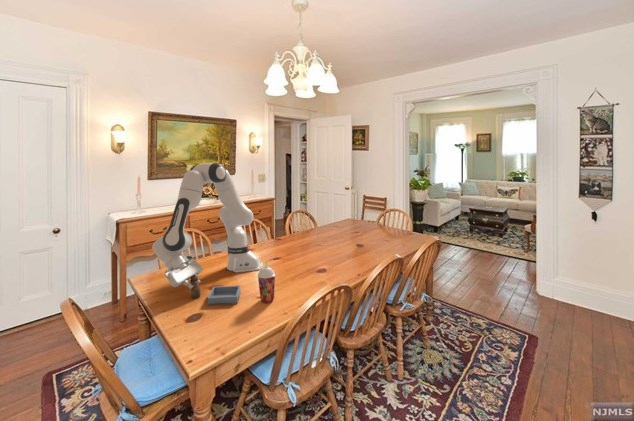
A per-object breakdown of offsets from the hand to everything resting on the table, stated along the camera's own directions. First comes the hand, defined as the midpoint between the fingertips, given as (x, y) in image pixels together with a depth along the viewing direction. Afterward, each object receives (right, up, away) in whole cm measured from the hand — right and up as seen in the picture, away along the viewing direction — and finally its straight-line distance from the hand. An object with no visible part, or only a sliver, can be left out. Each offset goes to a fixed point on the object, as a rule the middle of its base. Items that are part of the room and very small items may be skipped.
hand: (196, 285), depth 157 cm
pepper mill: (-1, -6, +1) cm, 6 cm away
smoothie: (+36, -7, -2) cm, 37 cm away
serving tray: (+15, -7, 0) cm, 16 cm away
